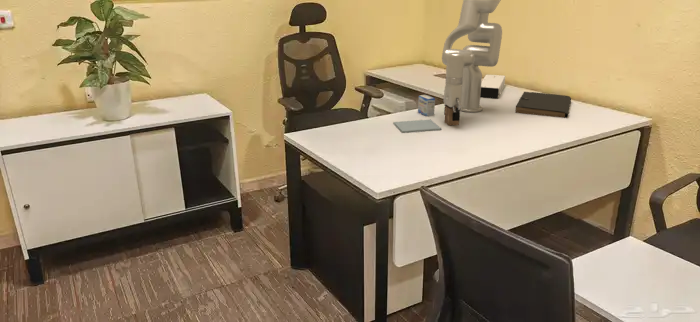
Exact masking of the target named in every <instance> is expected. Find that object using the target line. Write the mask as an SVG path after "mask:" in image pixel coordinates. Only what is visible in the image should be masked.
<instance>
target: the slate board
mask: <svg viewBox="0 0 700 322" xmlns="http://www.w3.org/2000/svg"><path fill="white" fill-rule="evenodd" d="M393 125H394V126H395V127H396V128H397V129H398V130H399V132H401V133H402V134H405V133H406V134H408V133H417V132H418V133H420V132H422V133H423V132H431V131H432V132H433V131H434V132H435V131H442V127H440V126H439V125H438V124H437V123H436V122H434V121H433V120H432V119H419V120H417V119H416V120H403V121H393Z"/></svg>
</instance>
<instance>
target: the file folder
mask: <svg viewBox="0 0 700 322" xmlns="http://www.w3.org/2000/svg"><path fill="white" fill-rule="evenodd" d="M571 102H572V97H571V96H569V95H563V94H556V93H555V94H553V93H543V92H536V91H535V92H534V91H523V93H522V94H521V96H520V97H519V99H518V101H517V103H516V104H515V113H516V114H521V115H522V114H523V115H524V114H525V115H531V116H544V117H553V118H562V119H563V118H564V119H567V118H568V116H569V111H570V106H571Z"/></svg>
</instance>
